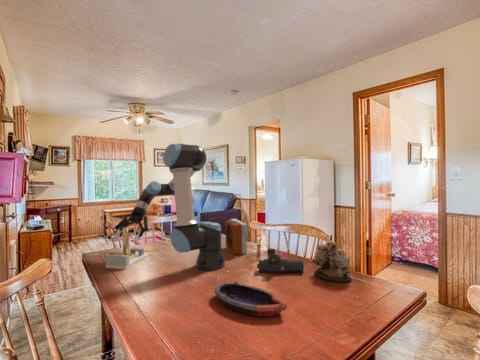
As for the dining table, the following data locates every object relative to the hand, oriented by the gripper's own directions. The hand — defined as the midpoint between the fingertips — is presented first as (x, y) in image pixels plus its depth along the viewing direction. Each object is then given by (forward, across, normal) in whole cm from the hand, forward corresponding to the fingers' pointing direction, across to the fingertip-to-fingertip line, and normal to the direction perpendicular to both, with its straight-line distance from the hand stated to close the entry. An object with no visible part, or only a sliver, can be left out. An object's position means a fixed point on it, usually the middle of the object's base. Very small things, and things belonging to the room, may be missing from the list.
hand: (125, 240), depth 150 cm
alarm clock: (-15, -55, -33) cm, 66 cm away
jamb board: (+7, 0, -10) cm, 13 cm away
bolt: (+7, 0, -8) cm, 11 cm away
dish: (+34, -75, +16) cm, 84 cm away
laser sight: (+8, -84, -11) cm, 85 cm away
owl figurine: (+10, -108, -8) cm, 109 cm away
